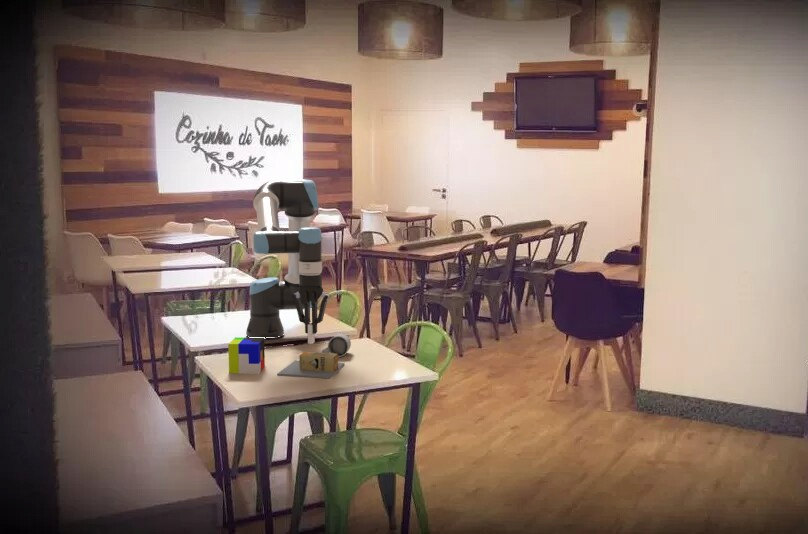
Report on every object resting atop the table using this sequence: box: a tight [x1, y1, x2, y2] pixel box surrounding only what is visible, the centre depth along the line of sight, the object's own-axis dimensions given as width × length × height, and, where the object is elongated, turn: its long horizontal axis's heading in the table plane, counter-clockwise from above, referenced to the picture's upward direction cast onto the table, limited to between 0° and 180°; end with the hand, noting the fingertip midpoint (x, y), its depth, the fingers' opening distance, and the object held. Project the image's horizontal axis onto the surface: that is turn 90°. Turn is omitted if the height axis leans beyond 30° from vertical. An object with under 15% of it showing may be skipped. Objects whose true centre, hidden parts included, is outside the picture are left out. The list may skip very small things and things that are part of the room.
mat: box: [276, 359, 345, 379], centre depth 267 cm, size 18×18×1 cm
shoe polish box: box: [298, 351, 339, 372], centre depth 266 cm, size 5×5×12 cm
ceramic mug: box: [320, 333, 352, 358], centre depth 288 cm, size 11×8×8 cm
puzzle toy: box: [227, 336, 266, 374], centre depth 267 cm, size 10×10×10 cm
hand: (311, 342), depth 266 cm, fingers closed
